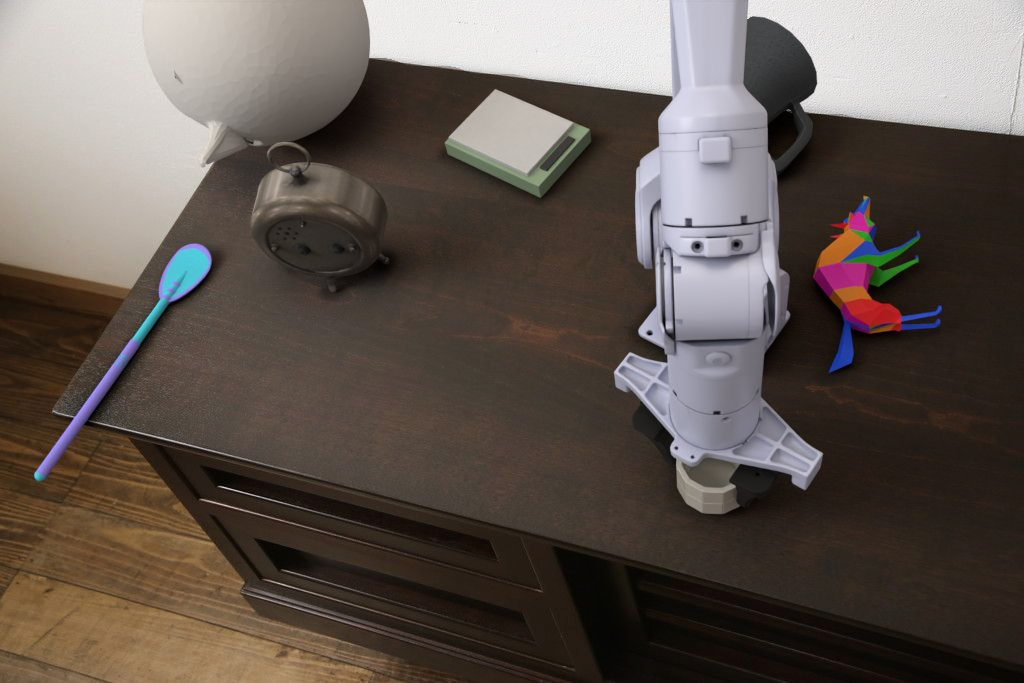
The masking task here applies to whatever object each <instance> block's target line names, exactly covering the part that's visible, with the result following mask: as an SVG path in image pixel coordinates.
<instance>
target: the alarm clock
mask: <svg viewBox="0 0 1024 683" xmlns="http://www.w3.org/2000/svg"><path fill="white" fill-rule="evenodd" d="M281 147H290V148H291V147H292V148H294V149H297V150H298V151H300V152H301V153H303V154H304V156H305V157H306V162H304V161H303V162H294V163H288V164H285V165H281V166H279V165H277V163H276V162H274V160H273V157H272V153H273V152H274V151H275V150H276V149H278V148H281ZM266 157H267V160H268V162H269V164H270V165H271V166H272V167H273V168H274V169H272V170H270V171H269V172H268V173H267V174H265V175H264V177H262V179H261V180H260V182H259V185H258V188H257V194H256V197H255V201H254V205H253V209H252V213H251V217H250V221H249V222H250V223H249V224H250V226H249V227H250V233H251V235H252V238H253V240H254V241H255V243H256V245H257V246H258V248H259V249H260V251H262V252H263V253H264V254H265V255H266V256H267V257H268V258H270V259H271V260H272V261H274V262H275V263H277V264H279V265H281V266H283V267H285V268H286V269H289V270H291V271H294V272H297V273H300V274H304V275H307V276H314V277H318V278H319V277H321V278H325V280H326V283H327V288H328V290H329V292H331V293H336V292H337V284H336V279H337V278H343V277H348V276H352V275H355V274H358V273H361V272H363V271H364V270H366V269H368V268H370V266H372V265H373V264H374V263H375V262H376V261H377V260H379V261H381V262H382V264H383V265H388V264H389V263H390V258H389V257H388V256H385V255H384V254H383V253H382V248H383V247H382V246H383V242H384V237H385V231H386V226H387V220H388V215H389V214H388V213H389V212H388V208H387V204H386V201H385V200H384V198H383V196H382V195H381V193H380V192H379V191H378V190H377V189H376V187H374V186H373V185H372V184H371V183H370V182H368V181H367V180H365V179H364V178H363V177H361V176H359V175H358V174H355V173H353V172H351V171H349V170H348V169H345V168H341V167H338V166H336V165H332V164H328V163H320V162H312V159H311V155H310V153H309V151H307V149H305V147H302V145H300V144H297V143H295V142H293V141H290V142H280V143H276V144H274V145H270V147H269V148H268V150H267V152H266Z"/></svg>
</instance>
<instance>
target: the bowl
mask: <svg viewBox="0 0 1024 683" xmlns="http://www.w3.org/2000/svg"><path fill="white" fill-rule="evenodd" d="M738 466H739V463H734V462H729V461H724V460H719V459H714V458H708V457H707V458H704V459H703V460H702V461H701V462H700V464H699V465H697V466H694V467H692V466H688V465H687V464H685V463H683V462H681V461H680V460H678V459H677V460H676V469H675V470H676V487H677V490H678V492H679V494H680V495H681V497H682V499H683V500H684V502H685V503H686V505H687V506H690V508H693V509H695V510H696V511H698V512H700V513H701V514H709V515H711V514H712V515H724V514H727V513H729V512H730V511H733V510H735V509H738V508H739V507H741V506H740V505H739V504H738V503H737V501H736V499H737V489H736V487H735V485H733V484H731V483H730V482H729V479H730V478H731V476H732V475H733V473H734V472H735V470H736V469H737V467H738Z"/></svg>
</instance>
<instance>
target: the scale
mask: <svg viewBox="0 0 1024 683" xmlns="http://www.w3.org/2000/svg"><path fill="white" fill-rule="evenodd" d="M591 143H592V134H591V129H590V128H587V127H585V126H583V125H580V124H579V123H576V122H574V121H571V120H569V119H567V118H564V117H562V116H559V115H557V114H554V113H552V112H550V111H548V110H545V109H543V108H540V107H538V106H536V105H534V104H531V103H529V102H526V101H524V100H522V99H520V98H518V97H515V96H513V95H510V94H508V93H506V92H503V91H500V90H499V89H494V90H493V91H492V92H491V93H490V94H489V95H488V96H487V97H486V98H485V99H484V100H483V101H482V102H481V103H480V104H479V105H478V106H477V107H476V108H475V110H473V111H472V112H471V113H470V114H469V115H468V117H466V118H465V119H464V121H463V122H461V124H459V126H457V128H455V130H454V131H453V132H452V133H450V135H449V136H448V138H447V139H446V140H445V141H444V146H445V148H446V153H447V155H448V156H450V157H453V158H455V159H457V160H459V161H461V162H463V163H466V165H467V164H468V165H469V166H471V167H474V168H476V169H477V170H480V171H482V172H484V173H486V174H489V175H490V176H493V177H494V178H497V179H500V180H501V181H503V182H505V183H507V184H510V185H513V186H514V187H516V188H518V189H520V190H522V191H525V192H527V193H529V194H531V195H534V196H535V197H537V198H540V199H541V198H542V197H544V195H545V194H546V193H547V192H548V191H549V190H550V189H551V188H552V187H553V185H554V184H555V183H556V182H557V181H558V180H559V178H561V176H562V175H564V173H565V172H566V171H567V170H568V169H569V167H570V166H571V165H572V164H573V163H574V162H575V161H576V160H577V158H578V157H579V156H580V155H581V154H582V153H583V151H585V149H586V148H587V147H588V146H589V145H591Z"/></svg>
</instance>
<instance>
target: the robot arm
mask: <svg viewBox="0 0 1024 683" xmlns="http://www.w3.org/2000/svg"><path fill="white" fill-rule="evenodd" d="M748 12H749V0H669V29H670V30H669V32H670V59H671V92H672V94H671V95H672V100H671V102H670V103H669V104H668V105H667V106H666V107H665V108H664V110H663V111H662V112H661V113H660V115H659V116H658V119H657V125H658V129H657V130H658V146H657V147H656V148H654V149H652V150H651V151H650V152H648V153H647V154H646V155H644V156H643V157H642V158H640V161H639V166H638V167H637V168H636V170H635V172H636V173H635V193H634V194H635V195H634V196H635V198H634V199H635V200H634V208H635V210H634V212H635V213H634V214H635V237H636V238H635V239H636V255H637V261H638V262H639V263H640V264H641V265H642V266H643V268H644V269H646V270H651V269H652V270H653V268H655V269H654V271H655V272H654V273H655V295H656V296H655V297H656V306H655V308H653V310H651V312H650V314H649V315H648V316H647V318H645V320H644V321H643V322H642V324H641V325H640V326H639V328H638V330H637V331H638V336H639V337H641V338H642V339H644V340H646V341H648V342H650V343H652V344H654V345H656V346H658V347H660V348H662V349H664V355H666V356H667V357H666V358H667V362H665V361H664V362H663V361H659V360H653V359H649V358H646V357H643V356H640V355H637V354H635V353H633V352H628V354H627V355H626V356H625V357H624V359H623V360H622V361H621V362H620V364H619V365H618V366H617V368H616V369H615V370H614V371H613V375H614V384H615V388H617V389H618V390H620V391H622V392H625V393H630V392H631V391H632V392H633V393H634V394H635V395H636V397H637V398H638V399H639V400H640V402H639V406H638V407H637V408H636V410H635V411H634V412H633V414H632V415H631V426H632V429H634V430H635V431H637V432H638V433H640V434H643V435H644V436H645V437H647V438H648V440H650V441H651V443H652V444H653V445H654V446H655V448H657V450H658V452H659V453H660V454H661V456H662V458H663V459H664V461H665V462H666V464H667V465H669V466H670V467H672V468H674V469H675V470H676V460H677V459H678V460H680V461H681V462H683V463H685V464H687V465H688V466H692V467H694V466H697V465H699V464H700V462H701V461H702V460H703V459H704V458H707V457H708V458H714V459H719V460H724V461H729V462H734V463H739V466H738V467H737V469H736V470H735V472H734V473H733V475H732V476H731V478H730V479H729V482H730V483H731V484H733V485H735V487H736V489H737V499H736V501H737V503H738V504H739V505H740V506H739V507H742V508H744V509H748V508H749V506H750V505H751V504H752V502H753V501H754V499H755V498H757V499H762V498H764V497H765V496H766V495H767V494H768V493H769V492H770V490H771V489H772V488H773V486H774V485H775V484H776V482H777V480H778V479H779V477H780V475H781V474H782V473H784V474H788V475H791V483H792V485H794V486H797V487H798V488H800V489H802V490H804V491H806V490H807V489H808V487H810V485H811V483H812V481H813V480H814V479H815V477H816V476H817V474H818V472H819V471H820V469H821V466H822V462H823V455H824V453H823V452H822V451H820V450H818V449H816V448H815V447H813V446H812V445H810V444H809V443H807V441H805V440H804V438H802V437H801V436H800V433H799V431H797V430H796V429H795V428H793V427H792V426H790V425H789V424H788V423H787V422H786V421H785V420H784V419H783V418H782V417H781V416H780V415H779V414H778V413H777V412H776V411H775V409H773V408H772V406H770V405H769V404H768V403H767V402H766V400H764V398H762V386H763V373H764V363H765V362H764V360H765V354H766V352H767V351H768V349H769V348H770V347H771V345H773V343H774V341H775V340H776V339H777V337H778V336H779V334H780V333H781V331H782V330H783V329H784V327H785V326H786V324H787V323H788V321H789V320H790V318H791V313H790V311H789V310H788V301H789V292H790V283H791V280H790V279H791V278H790V275H789V273H788V272H786V271H785V270H783V269H782V268H781V267H780V259H779V246H780V244H779V243H780V208H779V207H780V206H779V195H778V194H779V193H778V176H776V169H775V164H774V162H773V160H772V159H771V157H772V156H771V154H770V153H769V148H768V146H769V138H768V137H769V134H768V132H769V130H768V129H769V128H768V124H767V112H766V110H765V108H764V107H763V106H762V105H761V104H760V103H759V102H758V101H757V100H756V99H755V98H754V97H753V96H752V95H751V94H750V93H749V92H748V91H747V89H746V88H745V86H744V84H743V79H744V62H745V46H746V30H747V18H748V14H749V13H748ZM770 156H771V157H770ZM649 334H650V335H649Z"/></svg>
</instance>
